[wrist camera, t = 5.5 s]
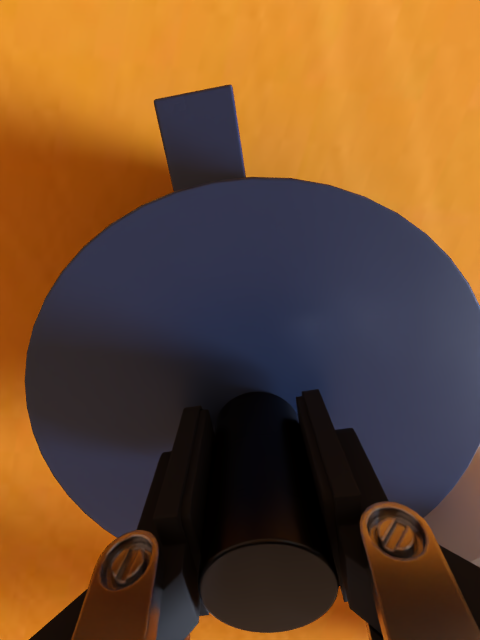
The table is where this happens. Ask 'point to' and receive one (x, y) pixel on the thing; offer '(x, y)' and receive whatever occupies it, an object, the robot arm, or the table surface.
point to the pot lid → (256, 373)
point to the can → (460, 515)
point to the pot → (200, 137)
